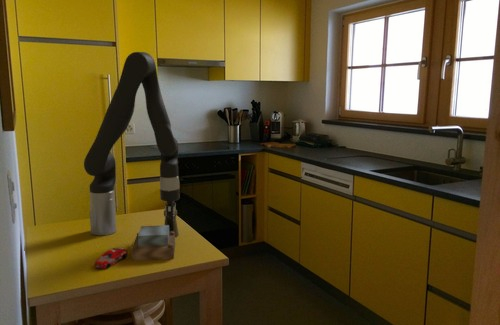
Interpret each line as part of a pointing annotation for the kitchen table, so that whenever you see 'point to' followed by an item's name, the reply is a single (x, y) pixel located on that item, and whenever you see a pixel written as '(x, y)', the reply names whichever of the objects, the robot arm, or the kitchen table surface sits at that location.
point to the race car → (110, 258)
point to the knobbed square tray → (154, 243)
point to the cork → (173, 223)
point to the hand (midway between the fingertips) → (171, 227)
